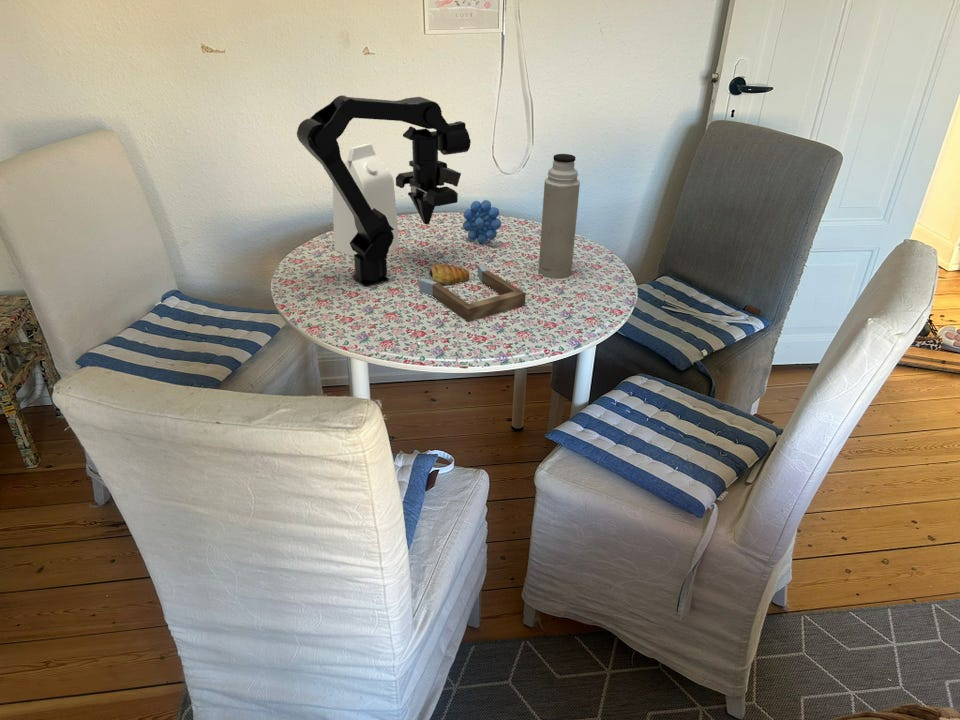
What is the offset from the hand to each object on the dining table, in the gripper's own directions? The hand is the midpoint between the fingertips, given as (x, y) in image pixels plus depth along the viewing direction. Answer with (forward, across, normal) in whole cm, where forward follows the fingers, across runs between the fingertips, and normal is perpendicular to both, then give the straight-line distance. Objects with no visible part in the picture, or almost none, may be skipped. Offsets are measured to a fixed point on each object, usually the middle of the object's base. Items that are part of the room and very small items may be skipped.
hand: (426, 223), depth 170 cm
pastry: (+12, -9, 0) cm, 14 cm away
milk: (+11, +18, +7) cm, 23 cm away
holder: (+11, -20, 0) cm, 23 cm away
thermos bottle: (+11, -18, -25) cm, 33 cm away
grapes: (+11, +6, -21) cm, 25 cm away
